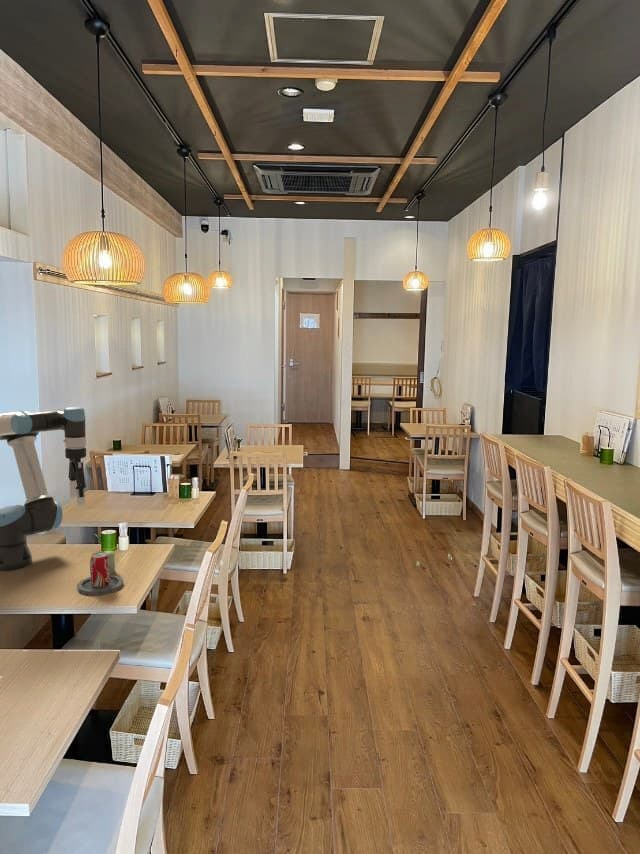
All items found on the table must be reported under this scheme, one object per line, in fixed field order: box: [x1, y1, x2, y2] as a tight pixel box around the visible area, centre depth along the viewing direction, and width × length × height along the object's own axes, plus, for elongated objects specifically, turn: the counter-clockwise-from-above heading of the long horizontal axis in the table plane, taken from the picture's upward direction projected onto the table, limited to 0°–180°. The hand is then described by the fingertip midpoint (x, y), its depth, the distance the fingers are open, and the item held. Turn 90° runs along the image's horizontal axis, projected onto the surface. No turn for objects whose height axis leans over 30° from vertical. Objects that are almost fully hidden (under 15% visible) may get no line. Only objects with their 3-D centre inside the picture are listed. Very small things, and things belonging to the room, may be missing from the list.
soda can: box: [89, 551, 111, 588], centre depth 229 cm, size 7×7×12 cm
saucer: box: [76, 574, 124, 596], centre depth 230 cm, size 16×16×1 cm
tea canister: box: [103, 550, 116, 575], centre depth 244 cm, size 5×5×8 cm
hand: (77, 500), depth 238 cm, fingers open, 13 cm apart
